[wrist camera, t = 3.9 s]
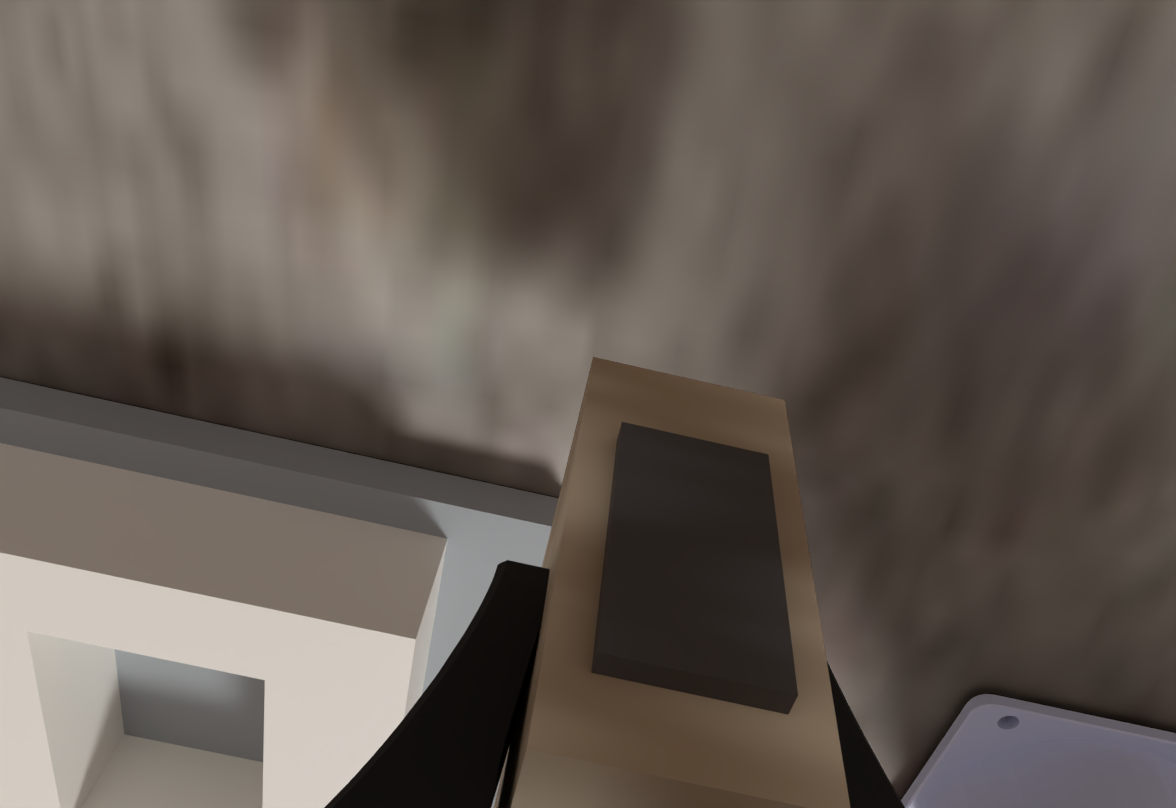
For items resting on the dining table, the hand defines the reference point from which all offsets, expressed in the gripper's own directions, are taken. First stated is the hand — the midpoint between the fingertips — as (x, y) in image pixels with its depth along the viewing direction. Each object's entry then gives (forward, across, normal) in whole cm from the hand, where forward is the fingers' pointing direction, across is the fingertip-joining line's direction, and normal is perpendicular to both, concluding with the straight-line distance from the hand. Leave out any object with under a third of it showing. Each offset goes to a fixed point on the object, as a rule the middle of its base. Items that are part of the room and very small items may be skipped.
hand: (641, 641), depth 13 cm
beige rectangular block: (+3, 0, 0) cm, 3 cm away
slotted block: (+8, +9, +11) cm, 16 cm away
